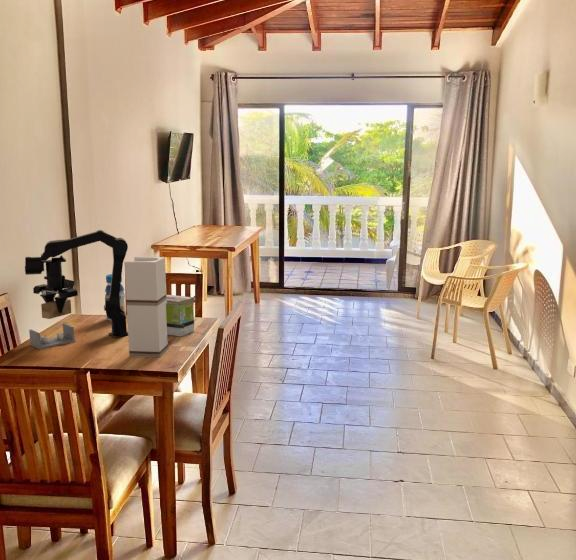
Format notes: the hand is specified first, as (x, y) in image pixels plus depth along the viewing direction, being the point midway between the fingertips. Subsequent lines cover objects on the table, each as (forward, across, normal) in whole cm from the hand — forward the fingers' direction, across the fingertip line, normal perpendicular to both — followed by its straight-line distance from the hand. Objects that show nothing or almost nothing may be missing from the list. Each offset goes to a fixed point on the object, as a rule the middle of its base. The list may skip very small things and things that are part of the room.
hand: (56, 312), depth 248 cm
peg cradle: (+11, -1, +4) cm, 12 cm away
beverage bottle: (+11, +3, -36) cm, 37 cm away
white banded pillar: (+11, -43, -4) cm, 44 cm away
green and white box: (+11, -33, -30) cm, 46 cm away
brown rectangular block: (+1, 0, 0) cm, 1 cm away
